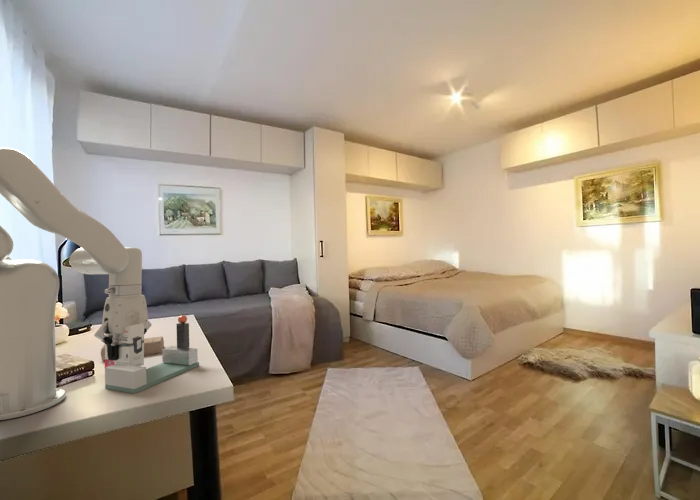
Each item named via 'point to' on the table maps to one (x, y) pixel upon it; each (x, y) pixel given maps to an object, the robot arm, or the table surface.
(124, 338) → the ink box
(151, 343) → the brick
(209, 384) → the table surface
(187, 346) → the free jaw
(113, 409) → the table surface
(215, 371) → the table surface
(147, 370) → the vise
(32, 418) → the table surface
